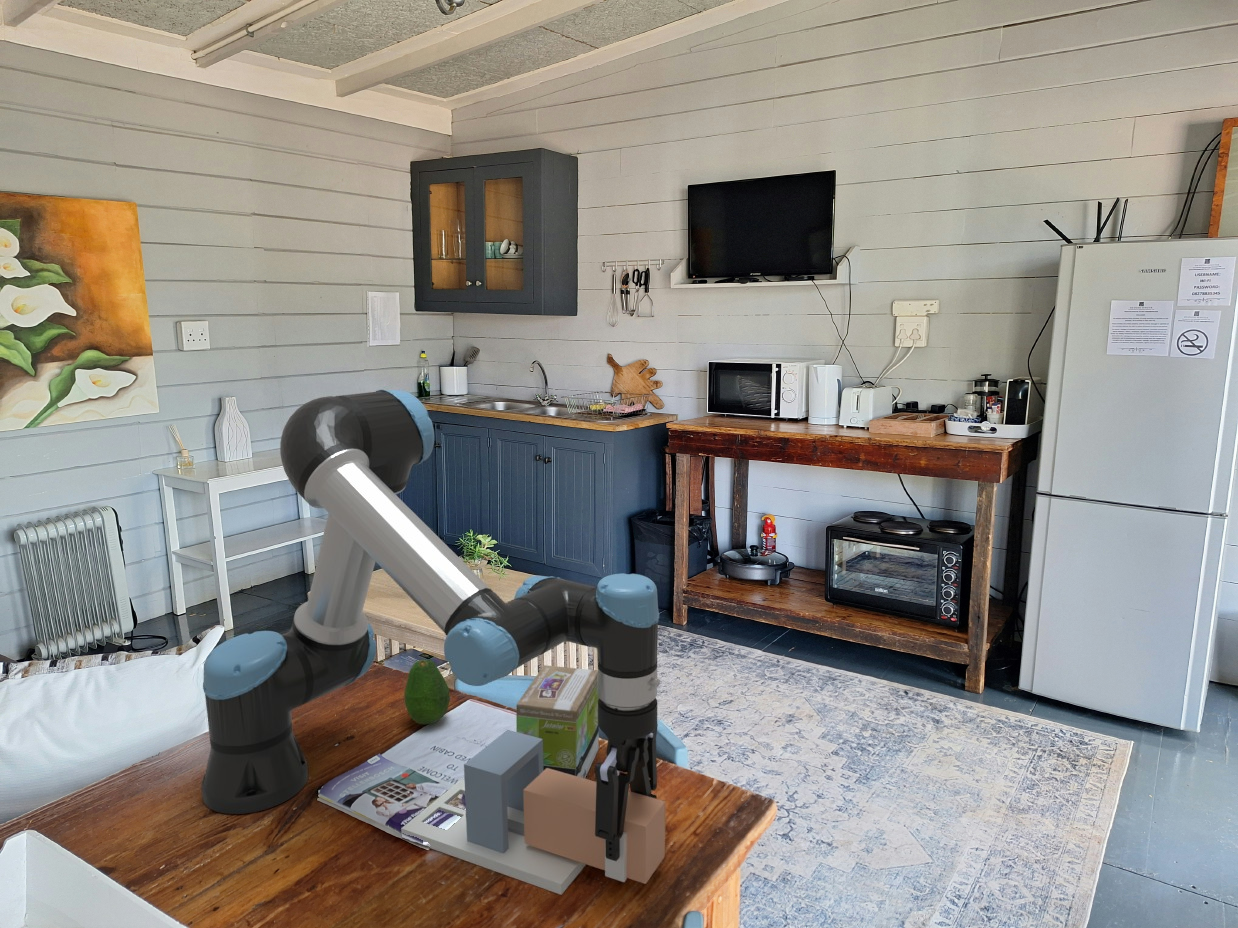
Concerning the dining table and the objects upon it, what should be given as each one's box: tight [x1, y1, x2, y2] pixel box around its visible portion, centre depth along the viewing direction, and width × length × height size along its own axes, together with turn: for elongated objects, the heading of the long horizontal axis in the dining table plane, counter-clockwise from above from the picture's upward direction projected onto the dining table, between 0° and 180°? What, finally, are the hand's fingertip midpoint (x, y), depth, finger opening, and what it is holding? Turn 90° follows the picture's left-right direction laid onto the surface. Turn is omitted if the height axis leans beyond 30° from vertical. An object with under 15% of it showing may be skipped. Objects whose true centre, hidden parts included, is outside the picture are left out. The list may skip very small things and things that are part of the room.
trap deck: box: [400, 729, 587, 896], centre depth 117 cm, size 26×14×13 cm, turn 63°
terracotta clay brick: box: [523, 768, 666, 885], centre depth 111 cm, size 18×6×8 cm, turn 63°
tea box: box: [515, 664, 600, 779], centre depth 134 cm, size 15×10×15 cm
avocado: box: [403, 659, 451, 726], centre depth 149 cm, size 8×8×12 cm
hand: (627, 861), depth 110 cm, fingers closed on terracotta clay brick, 6 cm apart
